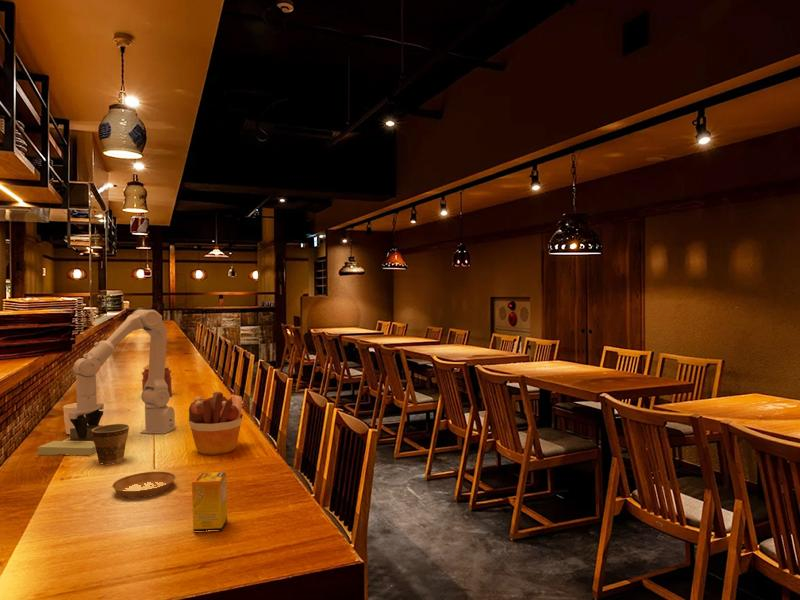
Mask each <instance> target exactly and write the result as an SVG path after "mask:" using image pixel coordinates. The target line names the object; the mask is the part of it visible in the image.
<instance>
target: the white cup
mask: <svg viewBox="0 0 800 600" xmlns="http://www.w3.org/2000/svg"><path fill="white" fill-rule="evenodd" d="M62 408H63V421H64V428H65V434H66V435H67V434H70V429H71V428H75V427H74V425H73V424H72V422H71V421H70V419H69V413H70V412H72V411H74V408H77V402H76V403H69V404H64V405H63V407H62ZM84 416H85V415H84ZM85 417H86V416H85ZM87 425H88V424H87Z"/></svg>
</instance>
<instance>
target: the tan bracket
mask: <svg viewBox="0 0 800 600" xmlns="http://www.w3.org/2000/svg"><path fill="white" fill-rule="evenodd" d="M95 453H97V451H96V447H95V444H94V441H70V437H68V438H66V439H63V440H52V441H50V442H47V443H44V444H42V445H40V446H37V455H38V456H55V455H54V454H68V455H93V454H95ZM95 455H96V454H95ZM93 456H94V455H93Z"/></svg>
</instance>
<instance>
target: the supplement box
mask: <svg viewBox="0 0 800 600" xmlns="http://www.w3.org/2000/svg"><path fill="white" fill-rule="evenodd" d="M191 486H192V487H191V488H192V489H191V491H192V528H193V532H194V531H206V530H207V531H208V530H222V531H223V529H224V528H225V525H226V523H227V522H228V501H227V499H228V498H227V497H228V494H227V472H226V471H216V472H215V471H214V472H213V471H212V472H199V473H198V474H197V476H196V477H195V478H194V479H193V480H192V481H191ZM226 521H227V522H226ZM222 528H223V529H222Z"/></svg>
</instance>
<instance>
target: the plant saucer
mask: <svg viewBox="0 0 800 600" xmlns="http://www.w3.org/2000/svg"><path fill="white" fill-rule="evenodd" d="M176 478H177V477H176V475H175V474H174V473H172V472H168V471H146V472H145V471H144V472H140V473H135V474H130V475H126V476H124V477H121V478H119V479H117V480H116V481H114V482H113V484H112V486H111V487H112V489H113V490H114V491H116V492H117V493H118V494H119V495H121V496H122V497H125V498H129V497H140V498H145V497H144V496H147V497H151V496H150V495H152V496H155V495H154V494H156V495H158V493H159V494H161V493H163V492H164V490H165V491H166V490H167V489H168V488H169V487H170V486H171V485H172V484H173V483H174V481H175V480H176ZM147 482H151V483H153V484H154V485H156V486H154V487H157V486H158V485H157V484H156V483H155V482H158V483H159V482H163V483H166V485H163V486H160V487H157V488H152V489H147V490H140V491H123V490H126V489H125V488H129V486H132V485H134V484H138V485H141V487H143V486H145V485H144V483H146V484H147ZM150 486H152V485H150ZM162 491H163V492H162ZM160 492H161V493H160Z"/></svg>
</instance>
